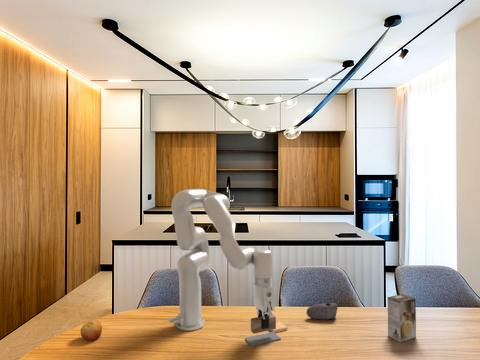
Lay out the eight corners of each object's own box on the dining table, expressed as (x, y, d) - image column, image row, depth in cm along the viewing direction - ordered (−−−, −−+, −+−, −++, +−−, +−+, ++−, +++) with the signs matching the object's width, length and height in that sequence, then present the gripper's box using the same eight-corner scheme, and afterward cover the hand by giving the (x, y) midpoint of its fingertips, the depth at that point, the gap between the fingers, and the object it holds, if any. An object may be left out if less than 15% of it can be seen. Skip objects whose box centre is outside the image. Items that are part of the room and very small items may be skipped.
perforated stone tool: (307, 321, 149) (307, 306, 149) (305, 316, 154) (305, 301, 154) (340, 321, 149) (340, 305, 149) (336, 316, 154) (336, 301, 154)
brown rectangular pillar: (275, 328, 132) (275, 316, 132) (253, 333, 128) (253, 320, 128) (272, 326, 135) (272, 314, 135) (250, 331, 131) (250, 318, 131)
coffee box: (402, 331, 139) (402, 293, 139) (416, 337, 133) (416, 298, 133) (387, 335, 135) (387, 296, 135) (400, 342, 129) (400, 302, 129)
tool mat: (251, 346, 126) (251, 344, 126) (245, 339, 132) (245, 337, 132) (280, 339, 132) (280, 338, 132) (273, 333, 137) (273, 331, 137)
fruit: (109, 330, 137) (102, 317, 133) (97, 347, 131) (90, 335, 127) (94, 327, 140) (86, 315, 136) (82, 344, 133) (73, 332, 129)
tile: (266, 328, 143) (273, 334, 137) (266, 324, 143) (273, 330, 137) (280, 325, 146) (287, 331, 140) (280, 321, 146) (287, 327, 140)
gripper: (281, 285, 126) (281, 333, 126) (261, 274, 141) (262, 317, 140) (264, 288, 123) (264, 337, 123) (245, 276, 137) (246, 320, 137)
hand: (263, 326), depth 132 cm, fingers closed on brown rectangular pillar, 2 cm apart
